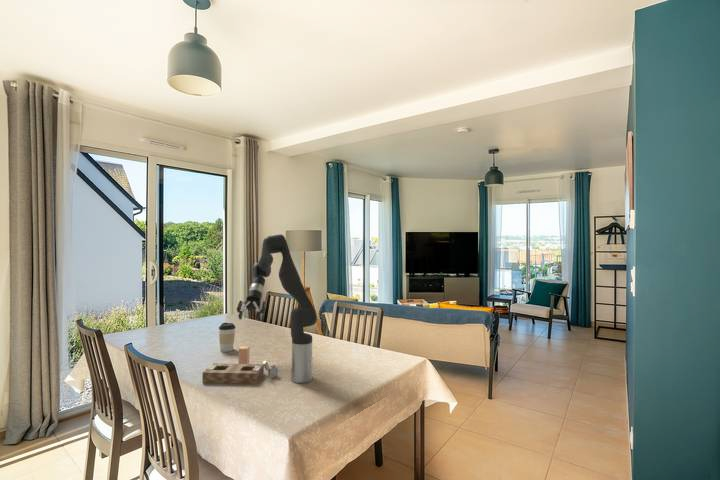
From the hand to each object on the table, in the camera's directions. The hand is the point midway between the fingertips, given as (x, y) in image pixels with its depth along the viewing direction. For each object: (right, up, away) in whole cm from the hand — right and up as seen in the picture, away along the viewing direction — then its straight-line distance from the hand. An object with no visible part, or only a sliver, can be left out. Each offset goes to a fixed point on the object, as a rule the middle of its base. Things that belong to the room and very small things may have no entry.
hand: (248, 319), depth 189 cm
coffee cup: (-19, -23, +22) cm, 37 cm away
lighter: (+16, -23, -18) cm, 34 cm away
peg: (0, -23, -6) cm, 24 cm away
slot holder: (0, -23, -20) cm, 30 cm away
